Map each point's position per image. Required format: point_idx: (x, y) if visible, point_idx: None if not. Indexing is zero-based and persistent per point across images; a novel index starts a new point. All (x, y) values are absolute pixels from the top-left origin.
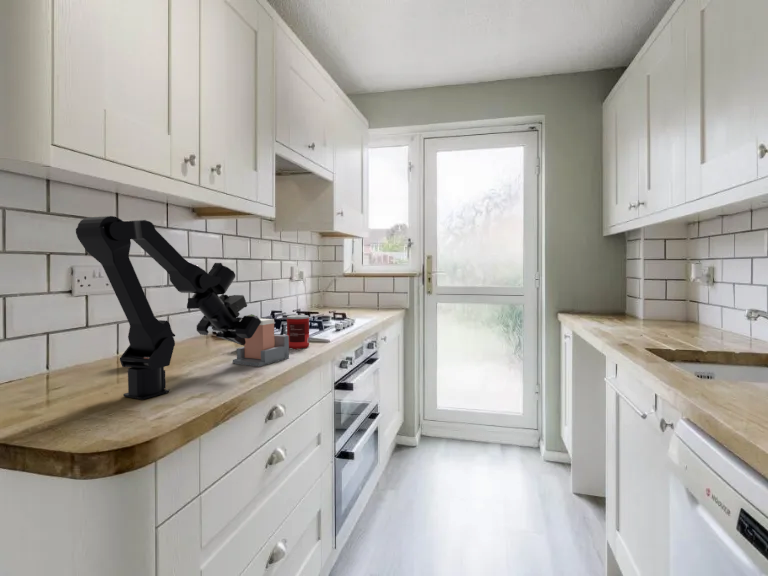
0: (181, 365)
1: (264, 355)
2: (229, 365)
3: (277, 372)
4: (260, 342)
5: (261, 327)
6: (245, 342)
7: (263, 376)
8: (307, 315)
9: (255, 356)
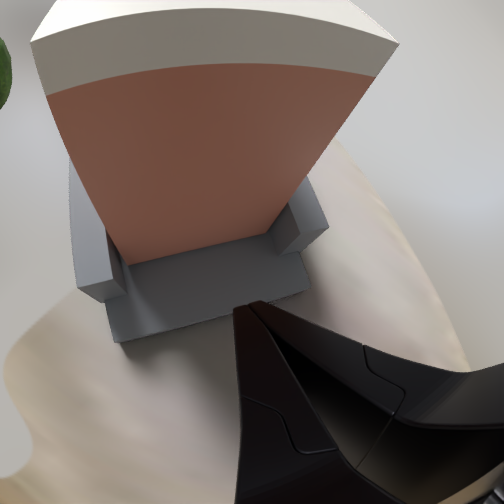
0: (13, 491)
1: (315, 238)
2: (155, 384)
3: (426, 297)
4: (279, 183)
5: (350, 93)
6: (261, 303)
7: (440, 361)
8: None
9: (212, 239)
